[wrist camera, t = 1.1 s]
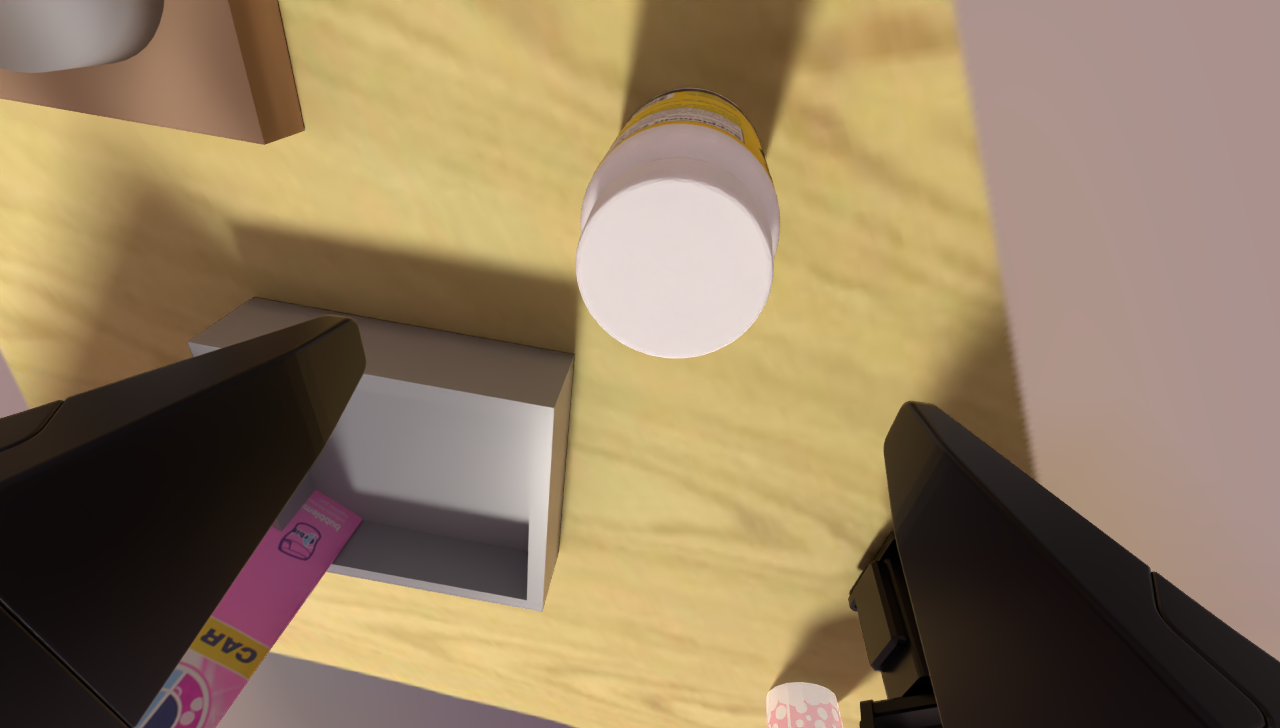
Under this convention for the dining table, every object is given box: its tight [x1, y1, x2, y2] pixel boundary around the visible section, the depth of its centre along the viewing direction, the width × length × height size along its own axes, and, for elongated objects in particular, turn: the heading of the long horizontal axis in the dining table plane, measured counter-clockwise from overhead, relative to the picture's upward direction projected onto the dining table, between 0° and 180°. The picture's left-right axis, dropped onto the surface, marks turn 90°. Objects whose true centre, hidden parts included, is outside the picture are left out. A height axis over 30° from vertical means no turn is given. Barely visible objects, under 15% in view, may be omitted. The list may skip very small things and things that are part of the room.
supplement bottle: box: [576, 88, 780, 358], centre depth 14 cm, size 5×5×8 cm
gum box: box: [135, 490, 363, 728], centre depth 28 cm, size 24×8×14 cm, turn 135°
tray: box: [187, 297, 575, 612], centre depth 25 cm, size 14×14×4 cm
